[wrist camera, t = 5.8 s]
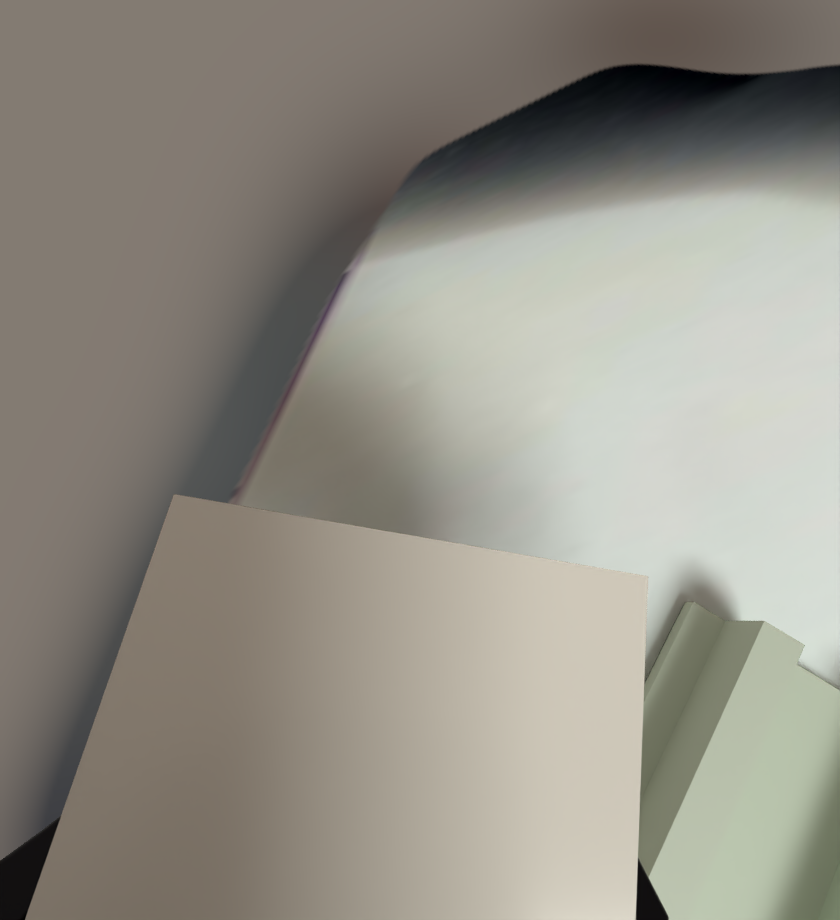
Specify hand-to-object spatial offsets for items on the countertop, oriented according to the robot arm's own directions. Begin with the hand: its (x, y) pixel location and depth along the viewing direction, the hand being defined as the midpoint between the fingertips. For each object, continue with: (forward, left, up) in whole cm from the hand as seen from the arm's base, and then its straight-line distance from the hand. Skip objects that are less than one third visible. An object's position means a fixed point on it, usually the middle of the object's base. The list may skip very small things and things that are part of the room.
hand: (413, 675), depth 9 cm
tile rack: (+10, -10, -13) cm, 19 cm away
